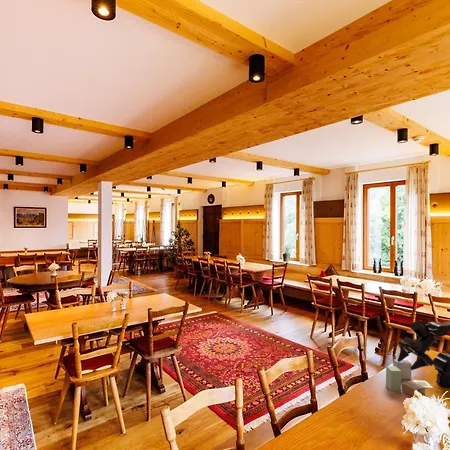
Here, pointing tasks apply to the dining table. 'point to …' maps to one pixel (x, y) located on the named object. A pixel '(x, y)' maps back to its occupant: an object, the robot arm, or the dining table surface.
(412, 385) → the walnut base block
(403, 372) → the medicine box
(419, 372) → the dining table surface
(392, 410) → the dining table surface
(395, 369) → the sage block
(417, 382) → the card
